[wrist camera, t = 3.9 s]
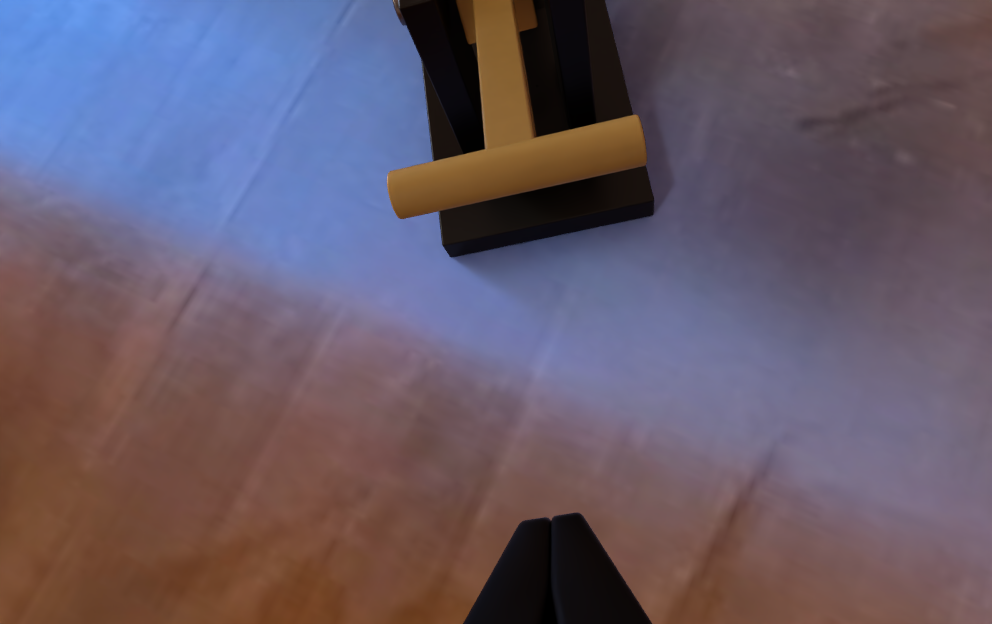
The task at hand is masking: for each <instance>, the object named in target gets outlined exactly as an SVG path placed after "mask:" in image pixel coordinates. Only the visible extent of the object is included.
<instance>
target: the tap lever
mask: <svg viewBox="0 0 992 624" xmlns="http://www.w3.org/2000/svg"><path fill="white" fill-rule="evenodd" d="M455 1H456V5H457V8H458V12H459V15H460V19H461V22H462V26H463V29H464V33H465V36H466V40H467V42H468V44H473V43H476V45H477V57H478V69H479V82H480V94H481V106H482V118H483V130H484V142H485V149H484V150H480V151H476V152H471V153H467V154H463V155H458V156H454V157H450V158H445V159H441V160H437V161H432V162H428V163H424V164H419V165H415V166H411V167H406V168H402V169H398V170H393V171H390V172H389V173H388V175H387V187H388V193H389V198H390V201H391V204H392V207H393V209H394V211H395V213H396V215H397V216H398V218H400V219H405V218H410V217H414V216H419V215H424V214H428V213H433V212H437V211H442V210H446V209H451V208H455V207H460V206H464V205H469V204H474V203H478V202H483V201H487V200H492V199H496V198H501V197H505V196H510V195H514V194H519V193H523V192H528V191H533V190H537V189H542V188H546V187H551V186H555V185H560V184H564V183H569V182H573V181H578V180H583V179H587V178H592V177H596V176H601V175H605V174H610V173H614V172H619V171H623V170H628V169H632V168H637V167H642V166H645V165H646V162H647V152H646V144H645V138H644V133H643V128H642V124H641V121H640V118H639V116H638V115H631V116H627V117H623V118H618V119H614V120H610V121H605V122H601V123H597V124H592V125H588V126H584V127H579V128H575V129H571V130H566V131H562V132H558V133H553V134H549V135H545V136H540V137H537V136H536V130H535V124H534V118H533V112H532V106H531V99H530V93H529V87H528V81H527V75H526V69H525V63H524V57H523V51H522V44H521V38H520V31H524V30H528V29H532V28H536V27H537V26H538V22H537V16H536V11H535V6H534V1H533V0H455Z"/></svg>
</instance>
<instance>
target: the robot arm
mask: <svg viewBox="0 0 992 624" xmlns="http://www.w3.org/2000/svg"><path fill="white" fill-rule="evenodd" d="M463 624H652V623H651V621H650V619H649V618H648V616H647V615H646V613H645V612H644V610H643V609H642V607H641V605H640V604H639V602H638V601H637V599H636V598H635V596H634V595H633V593H632V591H631V590H630V588H629V587H628V585H627V584H626V582H625V581H624V579H623V577H622V576H621V574H620V573H619V571H618V570H617V568H616V566H615V565H614V563H613V562H612V560H611V559H610V557H609V556H608V554H607V552H606V551H605V549H604V548H603V546H602V545H601V543H600V542H599V540H598V538H597V537H596V535H595V534H594V532H593V531H592V529H591V528H590V526H589V524H588V523H587V521H586V520H585V518H584V517H583V516H582V515H581V514H580V513H571V514H564V515H558V516H554V517H553V518H552V521H551V520H550V519H549V518H546V517H544V518H538V519H531V520H525V521H522V522H521V523H520V524H519V525H518V527H517V529H516V531H515V532H514V534H513V536H512V538H511V540H510V541H509V543H508V545H507V547H506V548H505V550H504V552H503V554H502V556H501V557H500V559H499V561H498V563H497V564H496V566H495V568H494V570H493V572H492V573H491V575H490V577H489V579H488V580H487V582H486V584H485V586H484V587H483V589H482V591H481V593H480V595H479V596H478V598H477V600H476V602H475V603H474V605H473V607H472V609H471V611H470V612H469V614H468V616H467V618H466V619H465V621H464V623H463Z"/></svg>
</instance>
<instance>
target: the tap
mask: <svg viewBox="0 0 992 624" xmlns="http://www.w3.org/2000/svg"><path fill="white" fill-rule="evenodd" d="M392 1H393V4H394V8H395V11H396V14H397V16H398V18H399V20H400V22H401V24H402V25H405V26H407V28H408V30H409V33H410V35H411V37H412V39H413V42H414V44H415V46H416V48H417V51H418V53H419V55H420V57H421V61H422V70H423V79H424V88H425V96H426V105H427V114H428V123H429V132H430V141H431V149H432V158H433V161H437V160H441V159H445V158H450V157H454V156H458V155H463V154H467V153H471V152H476V151H480V150H484V149H485V142H484V130H483V118H482V106H481V94H480V82H479V69H478V57H477V45H476V43H473V44H468V42H467V40H466V36H465V33H464V29H463V26H462V22H461V19H460V15H459V12H458V8H457V5H456V1H455V0H392ZM544 1H545V7H546V8H542V9H538V10H535V11H536V16H537V22H538V26H537V27H536V28H532V29H528V30H524V31H520V38H521V44H522V51H523V57H524V63H525V69H526V75H527V81H528V87H529V93H530V99H531V106H532V112H533V118H534V124H535V130H536V136H537V137H540V136H545V135H549V134H553V133H558V132H562V131H566V130H571V129H575V128H579V127H584V126H588V125H592V124H597V123H601V122H605V121H610V120H614V119H618V118H623V117H627V116H631V115H633V112H632V108H631V104H630V100H629V96H628V92H627V88H626V84H625V80H624V76H623V72H622V68H621V64H620V60H619V56H618V52H617V48H616V44H615V40H614V36H613V32H612V28H611V24H610V20H609V16H608V11H607V7H606V3H605V0H544ZM653 213H654V197H653V193H652V189H651V185H650V181H649V177H648V173H647V169H646V165H645V166H642V167H637V168H632V169H628V170H623V171H619V172H614V173H610V174H605V175H601V176H596V177H592V178H587V179H583V180H578V181H573V182H569V183H564V184H560V185H555V186H551V187H546V188H542V189H537V190H533V191H528V192H523V193H519V194H514V195H510V196H505V197H501V198H496V199H492V200H487V201H483V202H478V203H474V204H469V205H464V206H460V207H455V208H451V209H446V210H442V211H439V220H440V229H441V238H442V245H443V247H444V248H445V250H446V251H447V253H448V254H449V256H450V257H456V256H461V255H466V254H471V253H475V252H480V251H485V250H490V249H494V248H499V247H504V246H509V245H514V244H518V243H523V242H528V241H533V240H537V239H542V238H547V237H552V236H556V235H561V234H566V233H571V232H576V231H580V230H585V229H590V228H595V227H599V226H604V225H609V224H614V223H619V222H623V221H628V220H633V219H638V218H642V217H647V216H652V215H653Z"/></svg>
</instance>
